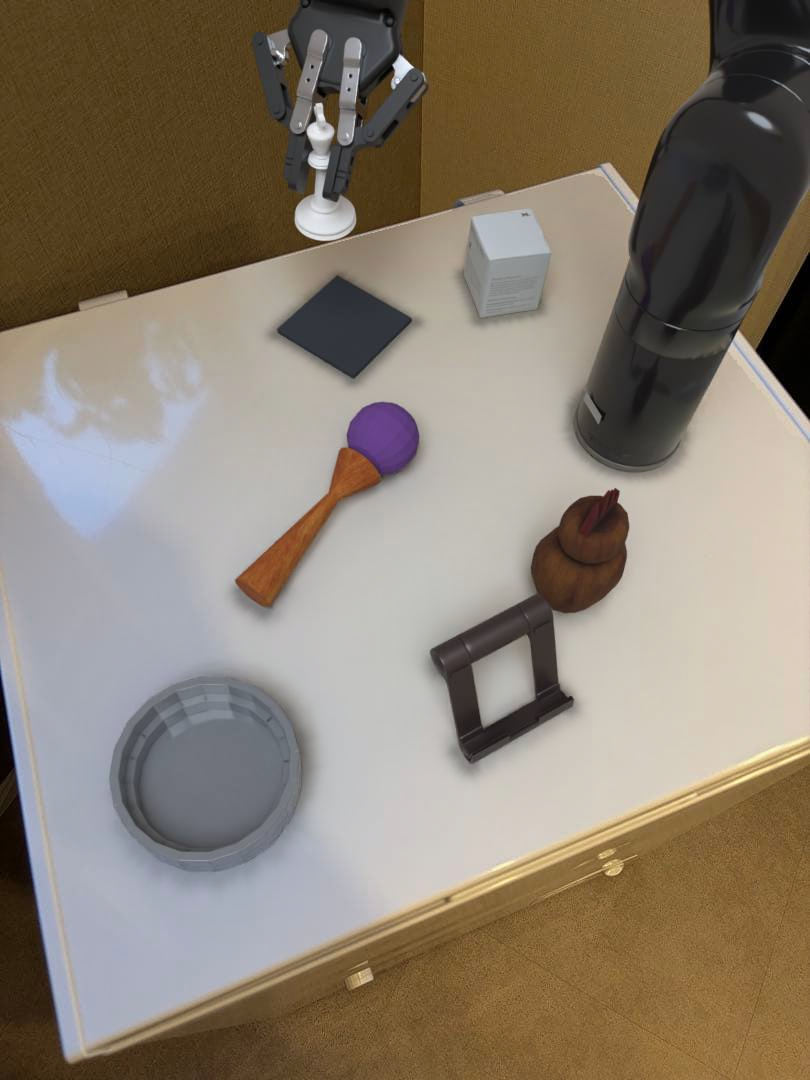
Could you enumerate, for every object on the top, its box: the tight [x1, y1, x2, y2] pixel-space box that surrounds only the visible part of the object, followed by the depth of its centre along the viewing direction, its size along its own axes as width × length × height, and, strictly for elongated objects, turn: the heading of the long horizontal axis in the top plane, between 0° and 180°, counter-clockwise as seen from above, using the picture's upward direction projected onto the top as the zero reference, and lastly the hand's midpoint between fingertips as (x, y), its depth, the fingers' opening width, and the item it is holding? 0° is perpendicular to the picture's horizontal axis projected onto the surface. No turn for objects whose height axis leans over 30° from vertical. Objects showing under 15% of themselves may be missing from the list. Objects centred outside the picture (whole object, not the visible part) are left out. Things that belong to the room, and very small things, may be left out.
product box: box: [463, 207, 553, 319], centre depth 84 cm, size 6×6×7 cm
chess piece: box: [294, 103, 357, 242], centre depth 67 cm, size 5×5×10 cm
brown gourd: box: [530, 487, 630, 614], centre depth 64 cm, size 7×6×15 cm
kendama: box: [234, 401, 420, 609], centre depth 71 cm, size 6×6×20 cm
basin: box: [108, 676, 303, 872], centre depth 60 cm, size 12×12×4 cm
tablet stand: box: [429, 592, 575, 765], centre depth 62 cm, size 9×8×8 cm
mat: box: [276, 275, 413, 379], centre depth 83 cm, size 9×9×1 cm
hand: (313, 194), depth 67 cm, fingers closed on chess piece
